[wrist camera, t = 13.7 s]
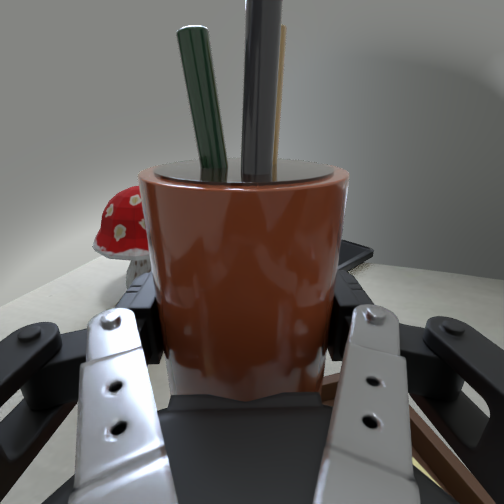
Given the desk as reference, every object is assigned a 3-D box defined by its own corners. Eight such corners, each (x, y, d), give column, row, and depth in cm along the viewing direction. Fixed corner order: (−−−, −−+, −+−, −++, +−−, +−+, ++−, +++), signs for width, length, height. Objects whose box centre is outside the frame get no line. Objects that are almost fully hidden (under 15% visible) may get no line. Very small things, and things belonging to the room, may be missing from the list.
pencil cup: (188, 557, 10) (74, -110, 4) (178, 412, 15) (123, 27, 9) (337, 501, 12) (447, -41, 5) (282, 386, 17) (302, 41, 10)
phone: (376, 249, 53) (328, 275, 44) (375, 255, 54) (327, 282, 44) (338, 238, 59) (288, 259, 49) (337, 243, 59) (288, 265, 50)
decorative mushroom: (222, 294, 42) (216, 188, 36) (118, 331, 34) (89, 205, 28) (182, 260, 52) (173, 174, 46) (96, 283, 45) (72, 183, 39)
